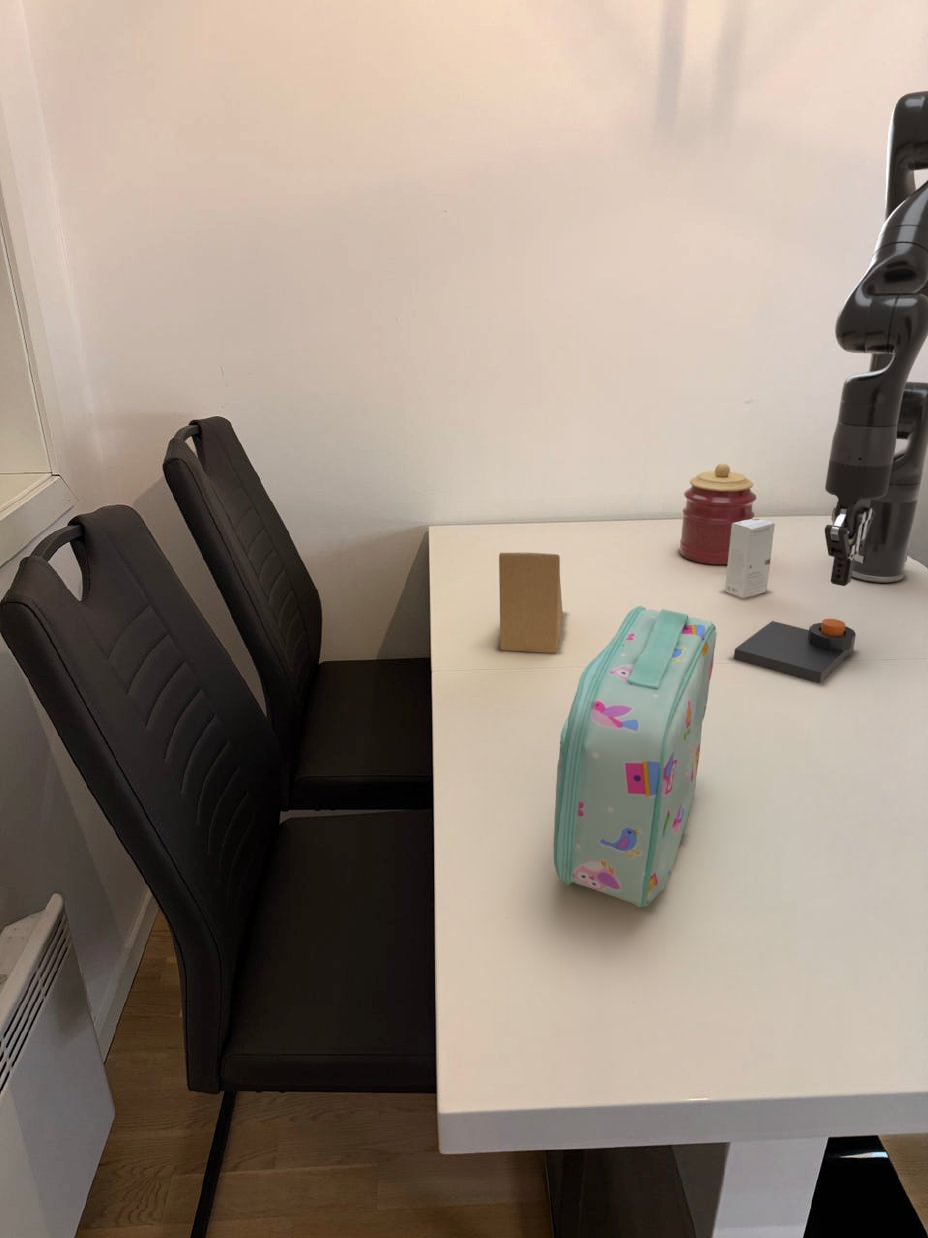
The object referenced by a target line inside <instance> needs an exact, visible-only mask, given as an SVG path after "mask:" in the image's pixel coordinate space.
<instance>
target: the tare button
mask: <svg viewBox="0 0 928 1238" xmlns="http://www.w3.org/2000/svg"><path fill="white" fill-rule="evenodd" d="M821 623H822V626H821V632H822V633H824V634H827V635H831V636H842V635H844V630H845V626H846V622H844V621H843V620H841V619H840V620H839V619H836V618H825V619H822V621H821Z"/></svg>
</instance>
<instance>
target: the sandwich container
mask: <svg viewBox="0 0 928 1238" xmlns="http://www.w3.org/2000/svg"><path fill="white" fill-rule="evenodd" d="M498 572H499V573H498V575H499V578H498V579H499V636H500V637H499V640H500V641H499V642H500V643H499V645H500V651H510V652H511V651H512V652H526V653H527V652H528V653H530V652H531V653H547V654H556V653H557V650H558V646H559V642H560V638H561V632H562V624H563V615H564V612H563V601H562V587H561V586H562V585H561V556H560V554H556V553H542V552H540V553H539V552H499V554H498Z"/></svg>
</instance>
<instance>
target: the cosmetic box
mask: <svg viewBox="0 0 928 1238" xmlns="http://www.w3.org/2000/svg"><path fill="white" fill-rule="evenodd" d="M775 525H776V524H775V523H774V522H773V521H768V520H764V519H760V518H753V519H750V520H743V521H740V522H736V523H732V528H731V537H730V547H729V556H728V564H727V568H726V576H725V584H724V592H726V593H728V594H730V595H733V596H735V597H738V598H740V599H746V598H750V597H754V596H757V595H760V594H764V593H766V592H767V591H768V583H769V574H770V566H771V557H772V549H773V541H774V533H775Z"/></svg>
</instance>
